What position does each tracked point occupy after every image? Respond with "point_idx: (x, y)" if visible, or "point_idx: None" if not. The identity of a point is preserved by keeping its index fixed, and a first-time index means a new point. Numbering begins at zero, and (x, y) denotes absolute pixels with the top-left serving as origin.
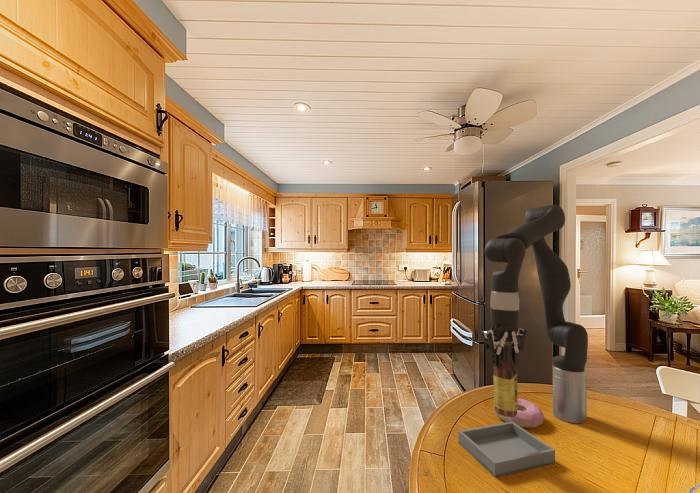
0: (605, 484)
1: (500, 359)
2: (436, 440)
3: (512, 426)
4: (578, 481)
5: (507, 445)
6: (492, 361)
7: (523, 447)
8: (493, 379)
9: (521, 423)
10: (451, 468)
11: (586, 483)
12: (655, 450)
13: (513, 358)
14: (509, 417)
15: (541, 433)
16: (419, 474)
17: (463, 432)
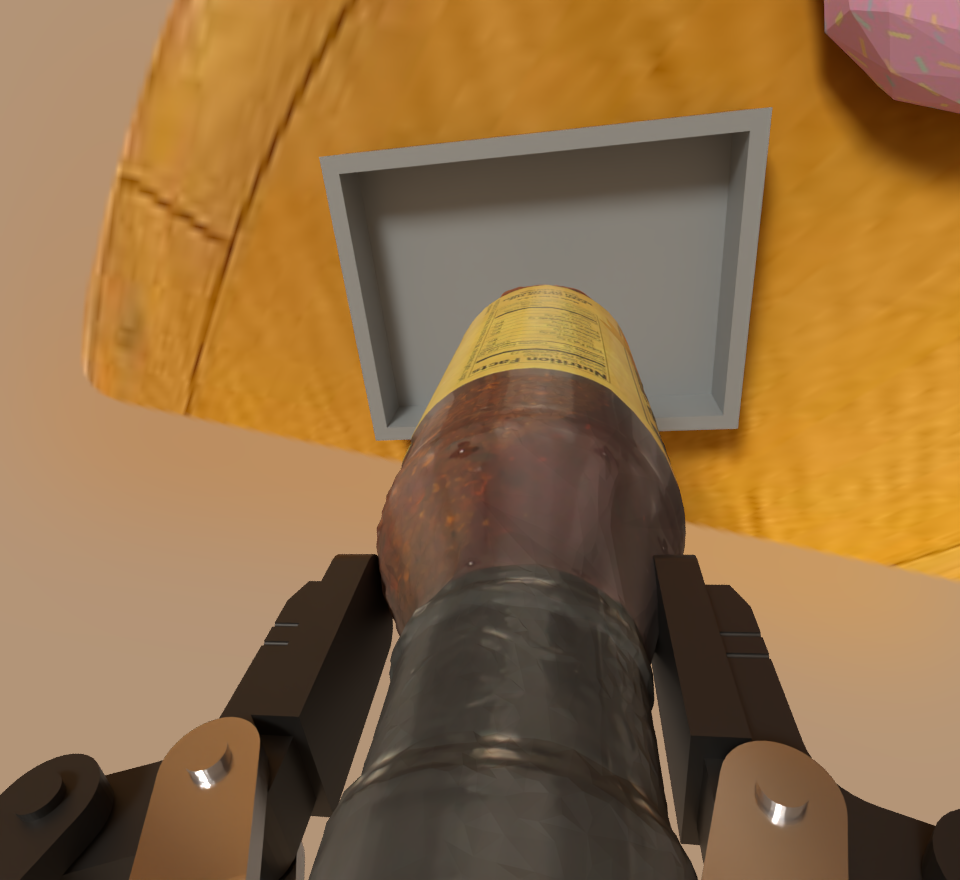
0: (792, 532)
1: (358, 738)
2: (225, 105)
3: (744, 134)
4: (704, 499)
5: (590, 253)
6: (282, 624)
7: (665, 286)
8: (426, 408)
9: (873, 78)
10: (237, 333)
11: (724, 513)
12: None
13: (666, 719)
14: (836, 4)
15: (941, 156)
16: (100, 337)
17: (348, 172)
